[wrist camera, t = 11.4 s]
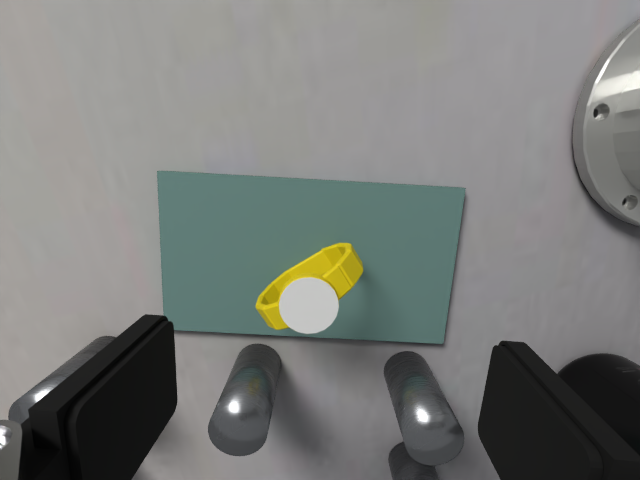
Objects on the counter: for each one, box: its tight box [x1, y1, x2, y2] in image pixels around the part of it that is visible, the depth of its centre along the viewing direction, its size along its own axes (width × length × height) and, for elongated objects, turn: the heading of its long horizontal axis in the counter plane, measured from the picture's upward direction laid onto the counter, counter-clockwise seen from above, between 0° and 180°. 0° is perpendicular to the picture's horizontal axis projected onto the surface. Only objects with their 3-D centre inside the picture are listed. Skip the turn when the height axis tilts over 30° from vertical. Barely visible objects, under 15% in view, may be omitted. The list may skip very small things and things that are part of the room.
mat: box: [157, 171, 466, 344], centre depth 21 cm, size 18×10×1 cm, turn 87°
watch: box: [255, 243, 363, 334], centre depth 18 cm, size 6×3×6 cm, turn 122°
